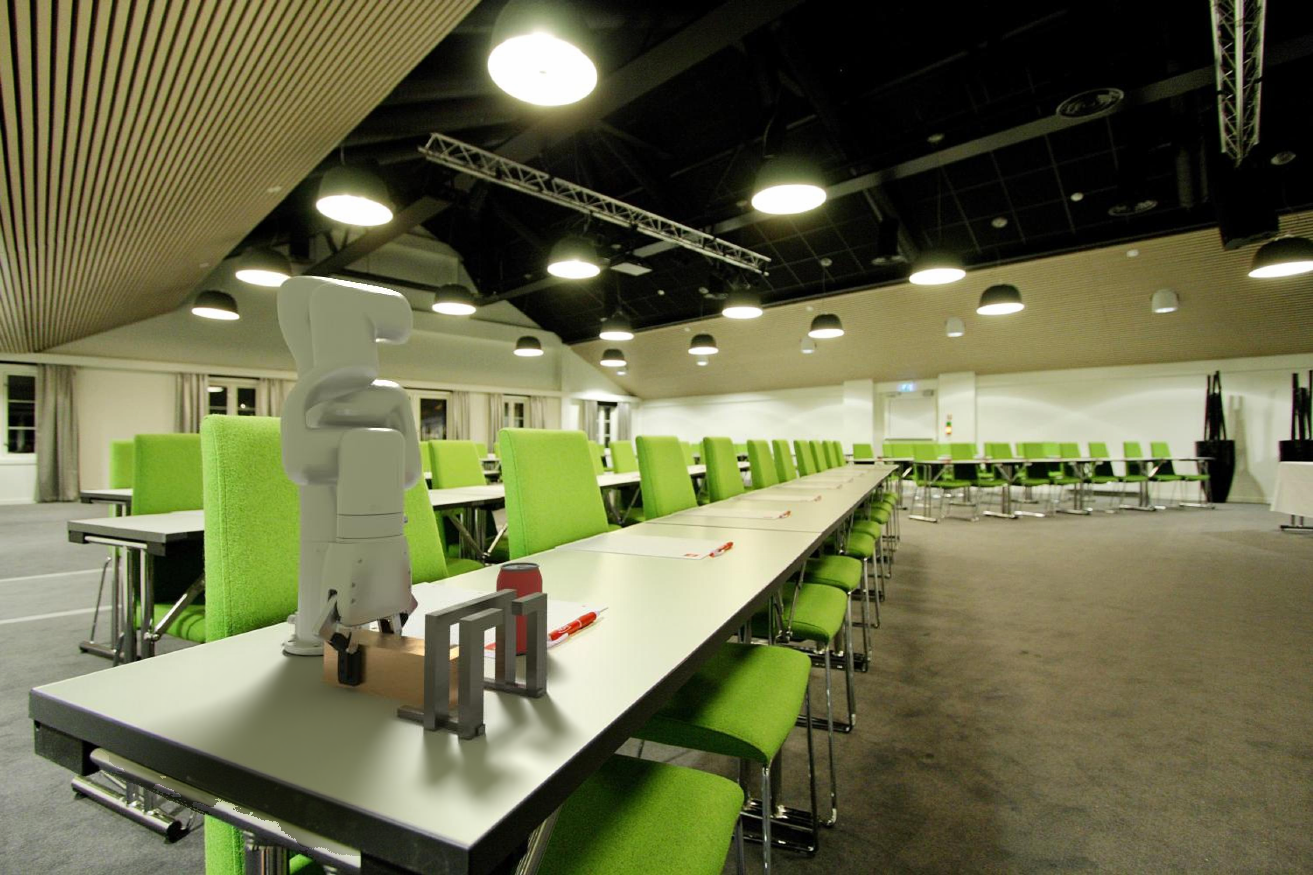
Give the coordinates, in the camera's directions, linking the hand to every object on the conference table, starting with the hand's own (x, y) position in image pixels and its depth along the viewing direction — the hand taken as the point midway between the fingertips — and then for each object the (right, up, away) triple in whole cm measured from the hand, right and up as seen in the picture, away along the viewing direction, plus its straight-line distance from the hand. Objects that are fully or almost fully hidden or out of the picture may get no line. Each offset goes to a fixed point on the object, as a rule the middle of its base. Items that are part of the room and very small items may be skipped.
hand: (368, 674), depth 71 cm
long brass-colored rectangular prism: (+5, -1, -2) cm, 5 cm away
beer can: (+15, -2, +13) cm, 20 cm away
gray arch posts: (+15, -1, -7) cm, 17 cm away
